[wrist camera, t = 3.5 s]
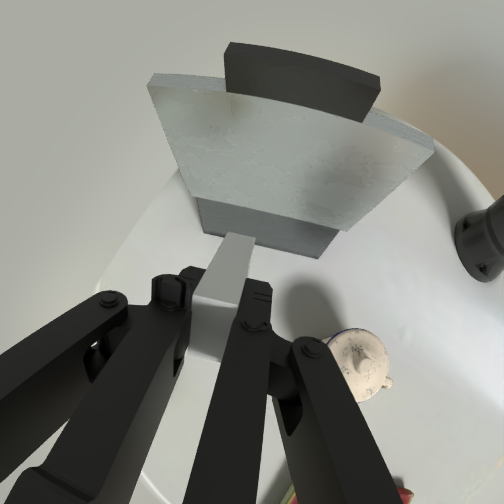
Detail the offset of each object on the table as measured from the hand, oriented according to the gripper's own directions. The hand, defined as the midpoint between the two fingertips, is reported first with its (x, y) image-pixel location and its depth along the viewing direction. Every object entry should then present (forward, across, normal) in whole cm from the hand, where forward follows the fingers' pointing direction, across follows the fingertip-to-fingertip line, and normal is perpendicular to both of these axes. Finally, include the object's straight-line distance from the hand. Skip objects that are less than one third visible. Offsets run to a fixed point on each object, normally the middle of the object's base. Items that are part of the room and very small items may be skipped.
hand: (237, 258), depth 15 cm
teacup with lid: (+15, +16, -21) cm, 31 cm away
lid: (+9, +1, +5) cm, 11 cm away
